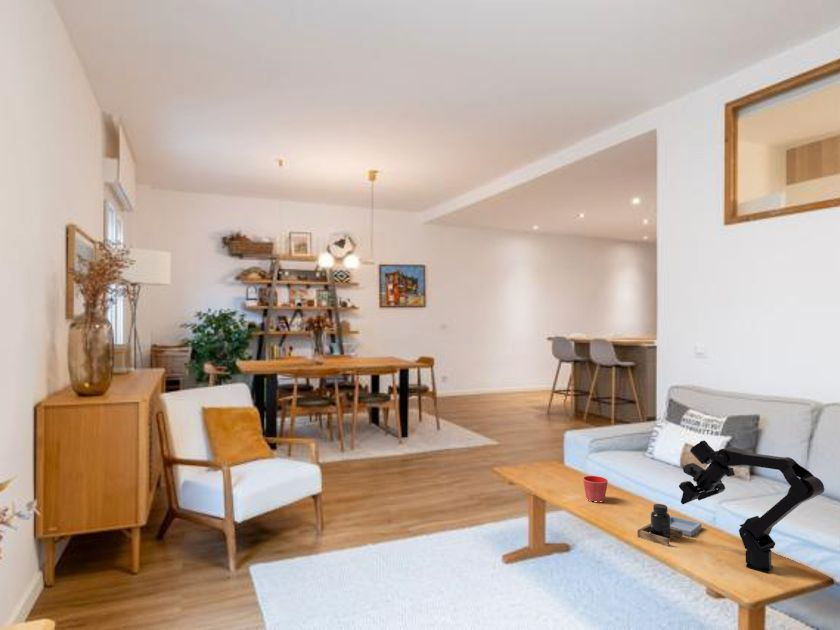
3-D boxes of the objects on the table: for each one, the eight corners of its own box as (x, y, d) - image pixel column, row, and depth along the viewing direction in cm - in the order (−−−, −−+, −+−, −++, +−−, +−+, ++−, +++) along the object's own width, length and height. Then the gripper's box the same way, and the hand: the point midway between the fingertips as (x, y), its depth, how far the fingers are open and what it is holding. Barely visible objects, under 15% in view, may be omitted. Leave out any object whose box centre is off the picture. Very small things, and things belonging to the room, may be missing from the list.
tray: (701, 528, 211) (701, 523, 211) (690, 537, 203) (690, 531, 203) (670, 520, 220) (670, 515, 220) (658, 528, 211) (658, 523, 211)
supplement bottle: (646, 535, 205) (646, 503, 205) (660, 532, 207) (660, 501, 208) (660, 542, 199) (660, 509, 199) (674, 539, 201) (674, 507, 201)
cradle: (682, 537, 203) (682, 530, 203) (667, 546, 195) (667, 539, 195) (652, 528, 211) (652, 522, 211) (637, 536, 204) (637, 530, 204)
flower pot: (602, 496, 251) (602, 475, 251) (611, 504, 240) (611, 482, 240) (580, 496, 251) (579, 475, 251) (588, 504, 240) (587, 482, 240)
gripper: (712, 453, 202) (690, 480, 210) (679, 459, 194) (658, 487, 202) (736, 477, 194) (712, 504, 202) (702, 485, 186) (679, 512, 194)
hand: (690, 501), depth 200 cm, fingers open, 9 cm apart
